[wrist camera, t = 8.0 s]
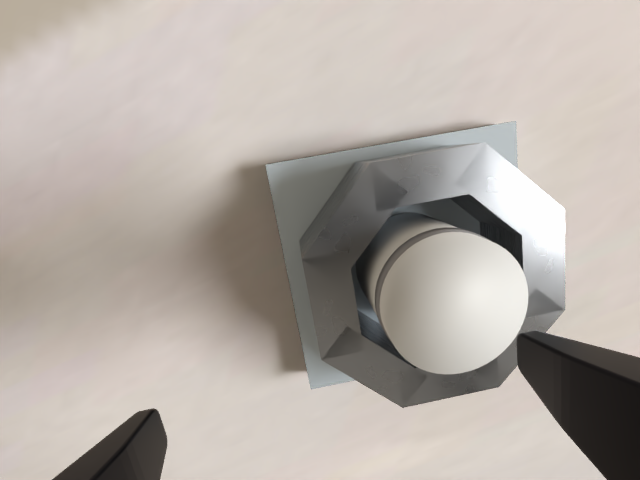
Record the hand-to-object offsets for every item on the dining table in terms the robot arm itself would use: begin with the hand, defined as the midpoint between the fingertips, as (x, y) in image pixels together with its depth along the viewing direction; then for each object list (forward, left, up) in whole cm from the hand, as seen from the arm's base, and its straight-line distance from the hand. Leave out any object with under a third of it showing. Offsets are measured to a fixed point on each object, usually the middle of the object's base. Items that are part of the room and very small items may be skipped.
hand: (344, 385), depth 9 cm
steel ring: (0, -5, -8) cm, 9 cm away
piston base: (0, -4, -9) cm, 10 cm away
